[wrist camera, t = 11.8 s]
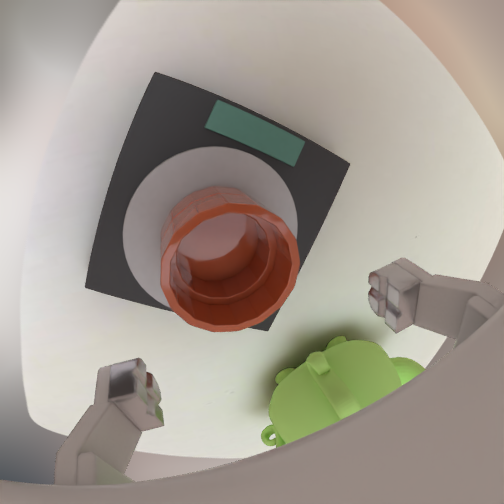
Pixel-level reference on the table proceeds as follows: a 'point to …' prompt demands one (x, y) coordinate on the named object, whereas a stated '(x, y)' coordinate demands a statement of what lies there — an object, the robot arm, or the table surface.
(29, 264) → the table surface
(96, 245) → the scale
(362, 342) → the teapot
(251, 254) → the orange cup
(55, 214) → the table surface
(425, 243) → the table surface
